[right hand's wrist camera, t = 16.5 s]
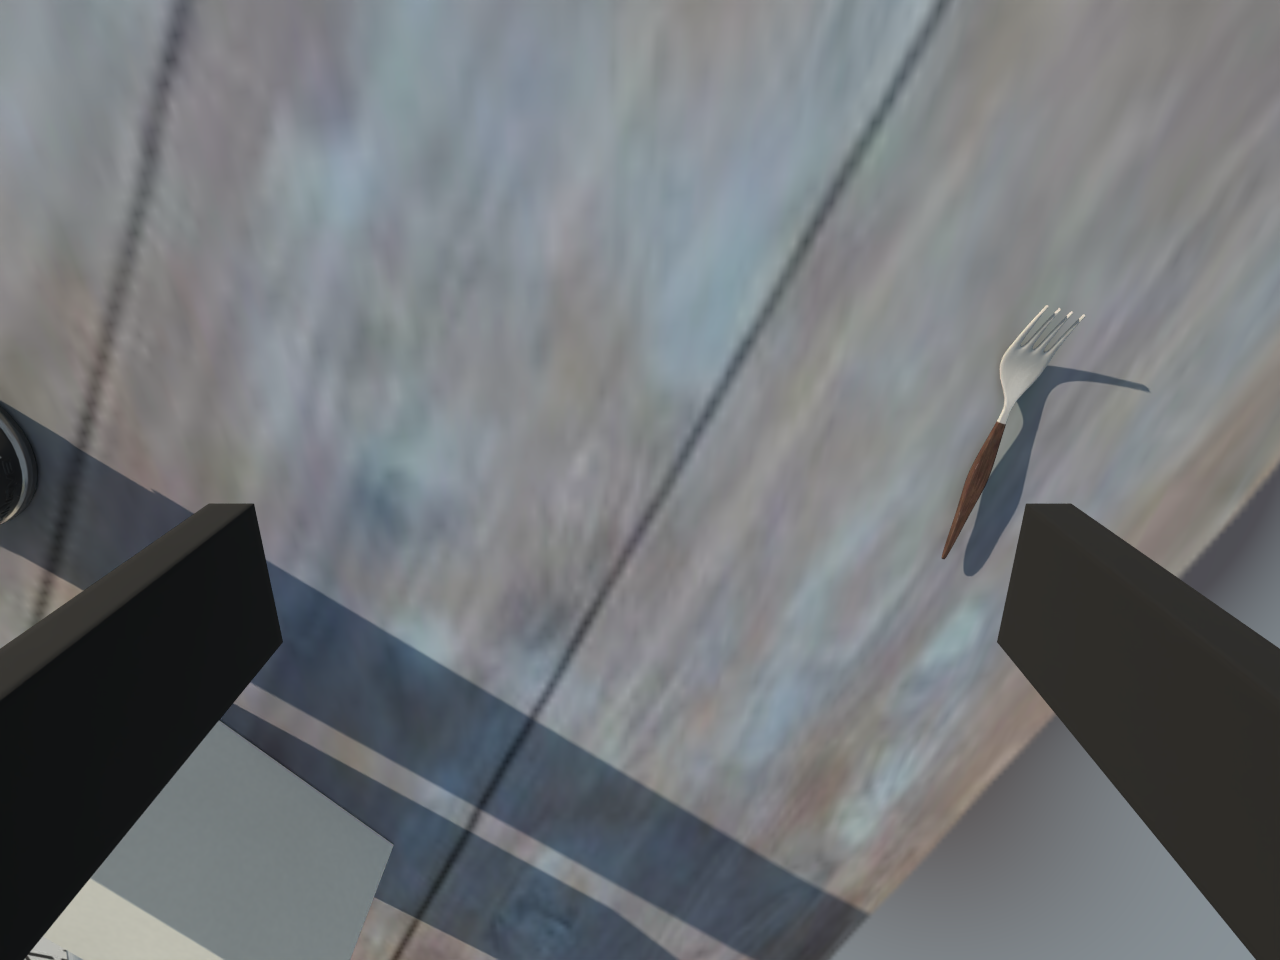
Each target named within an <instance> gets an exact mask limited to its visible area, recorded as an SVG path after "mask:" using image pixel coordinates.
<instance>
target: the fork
mask: <svg viewBox="0 0 1280 960" xmlns="http://www.w3.org/2000/svg"><path fill="white" fill-rule="evenodd" d="M1048 307H1049V306H1048V305H1046V306H1045V307H1044V308H1043V309H1042V311H1041V312H1040V313H1039V314H1038V315H1037V316H1036V317H1035V318H1034V319H1033V320H1032V321H1031V322H1030V324H1029V325H1028V326H1027V327H1026V328H1025V329H1024V330H1023V331H1022V333H1021V334H1020V335H1019V336H1018V337H1017V339H1016V340H1015V341H1014V342H1013V344H1012V345H1011V346H1010V347H1009V348H1008V350H1007V351H1006V353H1005V354H1004V356H1003V358H1002V360H1001V364H1000V379H1001V383H1002V388H1003V392H1004V399H1005V403H1004V407H1003V410H1002V412H1001V414H1000V416H999V418H998V420H997V422H996V424H995V425H994V427H993V429H992V431H991V432H990V434H989V436H988V438H987V439H986V441H985V443H984V445H983V446H982V448H981V450H980V452H979V454H978V455H977V457H976V459H975V461H974V463H973V465H972V467H971V469H970V471H969V474H968V476H967V479H966V482H965V485H964V488H963V491H962V494H961V498H960V501H959V504H958V508H957V511H956V514H955V517H954V520H953V523H952V526H951V529H950V532H949V535H948V538H947V541H946V544H945V547H944V550H943V554H942V559H945V558H946V557H947V555H948V553H949V552H950V550H951V548H952V546H953V545H954V543H955V541H956V539H957V537H958V535H959V533H960V532H961V530H962V528H963V526H964V524H965V522H966V520H967V518H968V517H969V515H970V513H971V511H972V509H973V508H974V506H975V504H976V502H977V500H978V499H979V497H980V495H981V493H982V491H983V489H984V487H985V485H986V483H987V481H988V478H989V476H990V473H991V470H992V467H993V464H994V461H995V458H996V455H997V451H998V448H999V445H1000V441H1001V438H1002V435H1003V431H1004V428H1005V425H1006V422H1007V419H1008V416H1009V413H1010V411H1011V409H1012V407H1013V405H1014V404H1015V402H1016V401H1017V400H1018V399H1019V398H1020V396H1021V395H1022V394H1023V393H1024V392H1025V391H1026V390H1027V389H1028V388H1029V387H1030V386H1031V385H1032V384H1033V383H1034V382H1035V381H1036V380H1037V378H1038V377H1039V376H1040V375H1041V373H1042V372H1043V371H1044V369H1045V368H1046V366H1047V365H1048V363H1049V362H1050V360H1051V358H1052V357H1053V355H1054V354H1055V352H1056V351H1057V350H1058V348H1059V347H1060V346H1061V344H1062V343H1063V342H1064V341H1065V339H1066V338H1067V337H1068V336H1069V334H1070V333H1071V332H1072V331H1073V330H1074V328H1075V327H1076V326H1077V325H1078V324H1079V323H1080V321H1081V320H1082V319H1083V318H1084V317H1085V314H1083V315H1082V316H1081V317H1080V318H1079V319H1078V320H1077V321H1076V322H1075V323H1074V324H1073V325H1072V326H1071V327H1070V328H1069V329H1068V330H1067V331H1066V332H1065V333H1064V334H1063V335H1062V337H1061V338H1060V339H1059V340H1058V341H1057V342H1056V343H1055V344H1054V345H1053V346H1052V347H1051V348H1050V349H1049V350H1048V351H1047V352H1044V349H1045V347H1046V346H1047V344H1048V343H1049V342H1050V340H1051V339H1052V338H1053V337H1054V335H1055V334H1056V333H1057V332H1058V330H1059V329H1060V328H1061V327H1062V325H1063V324H1064V323H1065V322H1066V321H1067V319H1068V318H1069V317H1070V316H1071V315H1072V314H1073V312H1072V311H1071V312H1070V313H1069V314H1068V315H1067V316H1066V317H1065V318H1064V319H1063V320H1062V321H1061V322H1060V323H1059V324H1058V325H1057V326H1056V327H1055V328H1054V329H1053V331H1052V332H1051V333H1050V334H1049V335H1048V336H1047V337H1046V338H1045V339H1044V340H1043V341H1042V343H1041V344H1040V345H1039V346H1038V347H1037V348H1035V349H1032V347H1033V345H1034V343H1035V342H1036V340H1037V339H1038V338H1039V336H1040V335H1041V334H1042V332H1043V331H1044V330H1045V329H1046V327H1047V326H1048V325H1049V324H1050V322H1051V321H1052V320H1053V319H1054V317H1055V316H1056V315H1057V314H1058V313H1059V311H1060V308H1059V309H1058V310H1057V311H1056V312H1055V313H1054V314H1053V315H1052V316H1051V317H1050V318H1049V319H1048V320H1047V321H1046V322H1045V323H1044V324H1043V325H1042V327H1041V328H1040V329H1039V330H1038V331H1037V332H1036V333H1035V334H1034V335H1033V337H1032V338H1031V339H1030V340H1029V341H1028V342H1027V343H1026V344H1025V345H1023V346H1021V342H1022V341H1023V339H1024V338H1025V336H1026V335H1027V334H1028V332H1029V331H1030V330H1031V328H1032V327H1033V326H1034V324H1035V323H1036V322H1037V320H1038V319H1039V318H1040V316H1041V315H1042V314H1043V313H1044V312H1045V310H1046V309H1047V308H1048Z"/></svg>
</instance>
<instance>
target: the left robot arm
mask: <svg viewBox="0 0 1280 960" xmlns="http://www.w3.org/2000/svg"><path fill="white" fill-rule="evenodd" d="M36 485H37V466H36V461H35V456H34V453H33V451H32V448H31V446H30V443H29V441H28V440H27V438H26V436H25V434H24V433H23V431H22V430H21V428H20V427H19V426H18V424H17V423H16V422H15V420H14V419H13V418H12V417H11V416H10V415H9V414H8V413H7V412H6V411H5V410H4V409H3V408H2V407H1V406H0V525H1V524H3V523H5V522H7V521H9V520H11V519H13V518H14V517H16V516H17V515H19V514H20V513H21V512H22V511H23V510H24V509H25V508H26V507H27V506H28V504H29V503H30V502H31V500H32V498H33V496H34V493H35V490H36Z"/></svg>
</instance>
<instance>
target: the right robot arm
mask: <svg viewBox="0 0 1280 960" xmlns="http://www.w3.org/2000/svg"><path fill="white" fill-rule="evenodd" d="M282 642H283V640H282V636H281V631H280V626H279V621H278V616H277V612H276V607H275V602H274V597H273V593H272V588H271V583H270V578H269V573H268V569H267V564H266V559H265V554H264V549H263V545H262V540H261V535H260V530H259V526H258V521H257V516H256V511H255V506H254V504H208V505H206V506H205V507H203V508H202V509H201V510H199V511H198V512H196V513H195V514H193V515H192V516H191V517H189V518H188V519H186V520H185V521H183V522H182V523H180V524H179V525H178V526H176V527H175V528H173V529H172V530H170V531H169V532H168V533H166V534H165V535H163V536H162V537H160V538H159V539H157V540H156V541H155V542H153V543H152V544H150V545H149V546H147V547H146V548H145V549H143V550H142V551H140V552H139V553H137V554H136V555H134V556H133V557H132V558H130V559H129V560H127V561H126V562H124V563H123V564H121V565H120V566H119V567H117V568H116V569H114V570H113V571H111V572H110V573H109V574H107V575H106V576H104V577H103V578H101V579H100V580H98V581H97V582H96V583H94V584H93V585H91V586H90V587H88V588H87V589H86V590H84V591H83V592H81V593H80V594H78V595H77V596H75V597H74V598H73V599H71V600H70V601H68V602H67V603H65V604H64V605H63V606H61V607H60V608H58V609H57V610H55V611H54V612H52V613H51V614H50V615H48V616H47V617H45V618H44V619H42V620H41V621H40V622H38V623H37V624H35V625H34V626H32V627H31V628H29V629H28V630H27V631H25V632H24V633H22V634H21V635H19V636H18V637H17V638H15V639H14V640H12V641H11V642H9V643H8V644H6V645H5V646H4V647H2V648H1V649H0V960H24V959H25V958H26V957H27V955H28V954H29V953H30V952H31V950H32V949H33V948H34V947H35V945H36V944H37V943H38V942H39V941H40V939H41V938H42V937H43V936H44V934H45V933H46V932H47V931H48V930H49V928H50V927H51V926H52V925H53V923H54V922H55V921H56V920H57V918H58V917H59V916H60V915H61V914H62V912H63V911H64V910H65V909H66V907H67V906H68V905H69V904H70V903H71V901H72V900H73V899H74V898H75V896H76V895H77V894H78V893H79V891H80V890H81V889H82V888H83V887H84V885H85V884H86V883H87V882H88V880H89V879H90V878H91V877H92V876H93V874H94V873H95V872H96V871H97V869H98V868H99V867H100V866H101V864H102V863H103V862H104V861H105V860H106V858H107V857H108V856H109V855H110V853H111V852H112V851H113V850H114V849H115V847H116V846H117V845H118V844H119V842H120V841H121V840H122V839H123V837H124V836H125V835H126V834H127V833H128V831H129V830H130V829H131V828H132V826H133V825H134V824H135V823H136V822H137V820H138V819H139V818H140V817H141V815H142V814H143V813H144V812H145V811H146V809H147V808H148V807H149V806H150V804H151V803H152V802H153V801H154V799H155V798H156V797H157V796H158V795H159V793H160V792H161V791H162V790H163V788H164V787H165V786H166V785H167V784H168V782H169V781H170V780H171V779H172V777H173V776H174V775H175V774H176V772H177V771H178V770H179V769H180V768H181V766H182V765H183V764H184V763H185V761H186V760H187V759H188V758H189V757H190V755H191V754H192V753H193V752H194V750H195V749H196V748H197V747H198V745H199V744H200V743H201V742H202V741H203V739H204V738H205V737H206V736H207V734H208V733H209V732H210V731H211V730H212V728H213V727H214V726H215V725H216V723H217V722H218V721H219V720H220V718H221V717H222V716H223V715H224V714H225V712H226V711H227V710H228V709H229V707H230V706H231V705H232V704H233V703H234V701H235V700H236V699H237V698H238V696H239V695H240V694H241V693H242V692H243V690H244V689H245V688H246V687H247V685H248V684H249V683H250V682H251V680H252V679H253V678H254V677H255V676H256V674H257V673H258V672H259V671H260V669H261V668H262V667H263V666H264V665H265V663H266V662H267V661H268V660H269V658H270V657H271V656H272V655H273V653H274V652H275V651H276V650H277V649H278V647H279V646H280V645H281V644H282ZM997 642H998V644H999V645H1000V646H1001V647H1002V649H1003V650H1004V651H1005V652H1006V653H1007V655H1008V656H1009V657H1010V658H1011V660H1012V661H1013V662H1014V663H1015V665H1016V666H1017V667H1018V668H1019V669H1020V671H1021V672H1022V673H1023V674H1024V676H1025V677H1026V678H1027V679H1028V680H1029V682H1030V683H1031V684H1032V685H1033V687H1034V688H1035V689H1036V690H1037V692H1038V693H1039V694H1040V695H1041V696H1042V698H1043V699H1044V700H1045V701H1046V703H1047V704H1048V705H1049V706H1050V707H1051V709H1052V710H1053V711H1054V712H1055V714H1056V715H1057V716H1058V717H1059V718H1060V720H1061V721H1062V722H1063V723H1064V725H1065V726H1066V727H1067V728H1068V730H1069V731H1070V732H1071V733H1072V734H1073V736H1074V737H1075V738H1076V739H1077V741H1078V742H1079V743H1080V744H1081V745H1082V747H1083V748H1084V749H1085V750H1086V752H1087V753H1088V754H1089V755H1090V756H1091V758H1092V759H1093V760H1094V761H1095V763H1096V764H1097V765H1098V766H1099V767H1100V769H1101V770H1102V771H1103V772H1104V774H1105V775H1106V776H1107V777H1108V779H1109V780H1110V781H1111V782H1112V784H1113V785H1114V786H1115V787H1116V788H1117V790H1118V791H1119V792H1120V793H1121V795H1122V796H1123V797H1124V798H1125V799H1126V801H1127V802H1128V803H1129V804H1130V806H1131V807H1132V808H1133V809H1134V811H1135V812H1136V813H1137V814H1138V815H1139V817H1140V818H1141V819H1142V820H1143V822H1144V823H1145V824H1146V825H1147V826H1148V828H1149V829H1150V830H1151V831H1152V833H1153V834H1154V835H1155V836H1156V837H1157V839H1158V840H1159V841H1160V842H1161V844H1162V845H1163V846H1164V847H1165V849H1166V850H1167V851H1168V852H1169V853H1170V855H1171V856H1172V857H1173V858H1174V860H1175V861H1176V862H1177V863H1178V864H1179V866H1180V867H1181V868H1182V869H1183V871H1184V872H1185V873H1186V874H1187V876H1188V877H1189V878H1190V879H1191V880H1192V882H1193V883H1194V884H1195V885H1196V887H1197V888H1198V889H1199V890H1200V891H1201V893H1202V894H1203V895H1204V896H1205V898H1206V899H1207V900H1208V901H1209V902H1210V904H1211V905H1212V906H1213V907H1214V909H1215V910H1216V911H1217V912H1218V914H1219V915H1220V916H1221V917H1222V918H1223V920H1224V921H1225V922H1226V923H1227V925H1228V926H1229V927H1230V928H1231V930H1232V931H1233V932H1234V933H1235V934H1236V936H1237V937H1238V938H1239V939H1240V941H1241V942H1242V943H1243V944H1244V945H1245V947H1246V948H1247V949H1248V950H1249V952H1250V953H1251V954H1252V955H1253V956H1254V958H1255V959H1256V960H1280V649H1279V648H1278V647H1276V646H1275V645H1273V644H1272V643H1271V642H1269V641H1268V640H1266V639H1265V638H1263V637H1262V636H1261V635H1259V634H1258V633H1256V632H1255V631H1253V630H1252V629H1251V628H1249V627H1248V626H1246V625H1245V624H1243V623H1242V622H1240V621H1239V620H1238V619H1236V618H1235V617H1233V616H1232V615H1230V614H1229V613H1227V612H1226V611H1225V610H1223V609H1222V608H1220V607H1219V606H1217V605H1216V604H1215V603H1213V602H1212V601H1210V600H1209V599H1207V598H1206V597H1205V596H1203V595H1202V594H1200V593H1199V592H1197V591H1196V590H1194V589H1193V588H1192V587H1190V586H1189V585H1187V584H1186V583H1184V582H1183V581H1182V580H1180V579H1179V578H1177V577H1176V576H1174V575H1173V574H1171V573H1170V572H1169V571H1167V570H1166V569H1164V568H1163V567H1161V566H1160V565H1159V564H1157V563H1156V562H1154V561H1153V560H1151V559H1150V558H1148V557H1147V556H1146V555H1144V554H1143V553H1141V552H1140V551H1138V550H1137V549H1135V548H1134V547H1133V546H1131V545H1130V544H1128V543H1127V542H1125V541H1124V540H1123V539H1121V538H1120V537H1118V536H1117V535H1115V534H1114V533H1112V532H1111V531H1110V530H1108V529H1107V528H1105V527H1104V526H1102V525H1101V524H1100V523H1098V522H1097V521H1095V520H1094V519H1092V518H1091V517H1089V516H1088V515H1087V514H1085V513H1084V512H1082V511H1081V510H1079V509H1078V508H1077V507H1075V506H1074V505H1072V504H1026V506H1025V511H1024V516H1023V521H1022V526H1021V530H1020V535H1019V540H1018V545H1017V549H1016V554H1015V559H1014V564H1013V569H1012V573H1011V578H1010V583H1009V588H1008V592H1007V597H1006V602H1005V607H1004V612H1003V616H1002V621H1001V626H1000V631H999V636H998V640H997Z"/></svg>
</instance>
